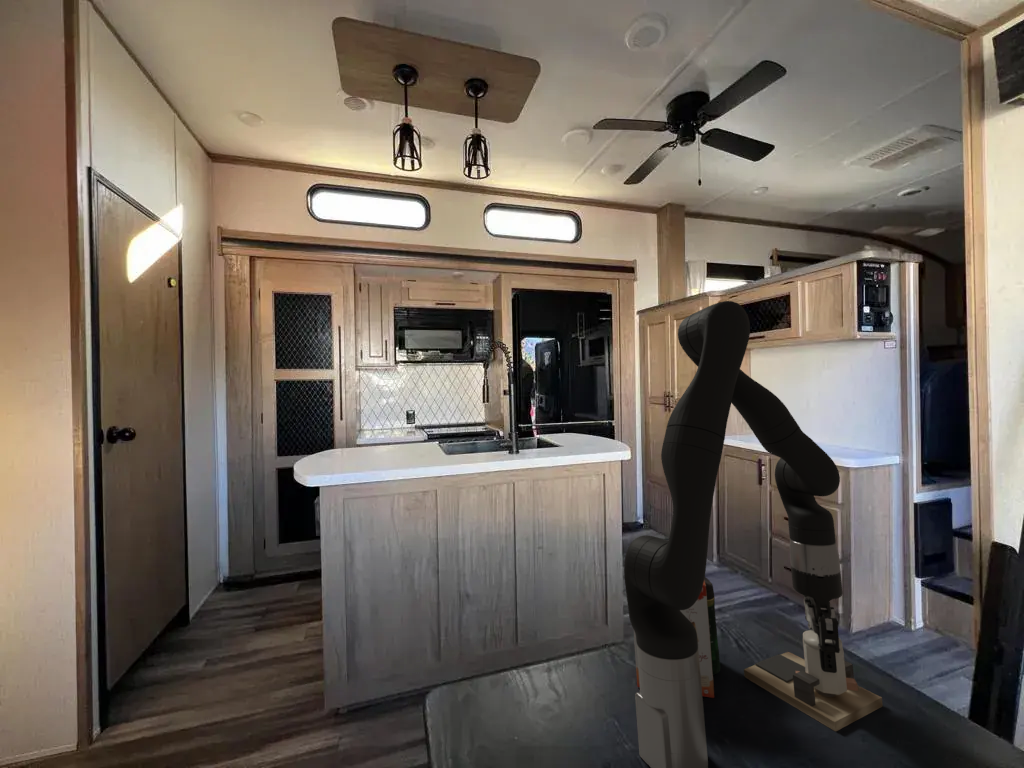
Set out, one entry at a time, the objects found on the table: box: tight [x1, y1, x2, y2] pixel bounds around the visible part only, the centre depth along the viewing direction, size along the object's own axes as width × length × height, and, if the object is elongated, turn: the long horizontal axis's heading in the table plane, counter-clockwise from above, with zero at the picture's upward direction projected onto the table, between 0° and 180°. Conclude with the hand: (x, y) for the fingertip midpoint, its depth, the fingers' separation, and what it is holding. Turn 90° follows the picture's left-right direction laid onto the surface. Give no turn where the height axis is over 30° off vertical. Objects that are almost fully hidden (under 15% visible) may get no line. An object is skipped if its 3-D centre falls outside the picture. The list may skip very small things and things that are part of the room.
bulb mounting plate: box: [743, 651, 884, 732], centre depth 83 cm, size 13×17×10 cm
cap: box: [795, 629, 859, 695], centre depth 80 cm, size 9×6×8 cm, turn 70°
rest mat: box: [754, 653, 806, 683], centre depth 88 cm, size 7×7×1 cm
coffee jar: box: [704, 576, 721, 676], centre depth 94 cm, size 10×8×19 cm
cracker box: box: [633, 581, 715, 699], centre depth 88 cm, size 14×6×21 cm, turn 71°
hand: (824, 660), depth 80 cm, fingers closed on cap, 5 cm apart
